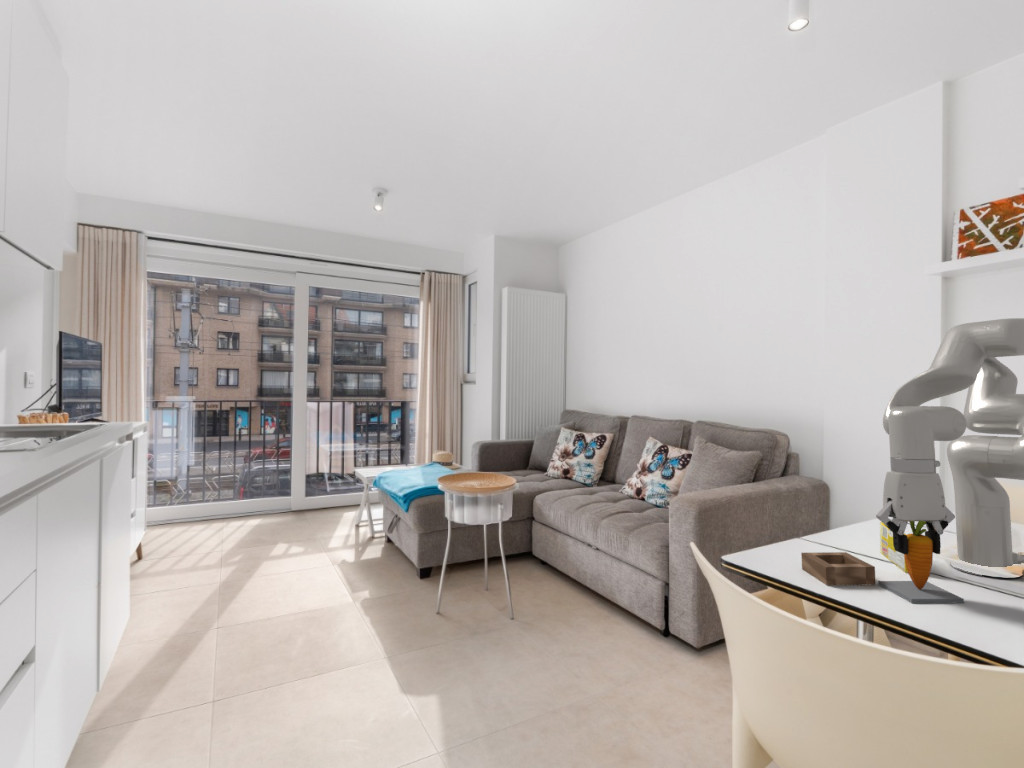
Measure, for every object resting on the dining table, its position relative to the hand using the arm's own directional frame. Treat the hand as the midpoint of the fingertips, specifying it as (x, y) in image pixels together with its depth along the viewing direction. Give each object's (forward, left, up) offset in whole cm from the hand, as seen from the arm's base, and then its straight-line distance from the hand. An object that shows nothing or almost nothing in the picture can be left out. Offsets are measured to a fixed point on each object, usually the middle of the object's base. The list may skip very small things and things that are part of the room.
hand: (917, 551), depth 106 cm
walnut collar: (+11, -10, -9) cm, 17 cm away
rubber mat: (0, 0, -9) cm, 9 cm away
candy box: (-9, -20, -9) cm, 24 cm away
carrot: (0, 0, -8) cm, 8 cm away
